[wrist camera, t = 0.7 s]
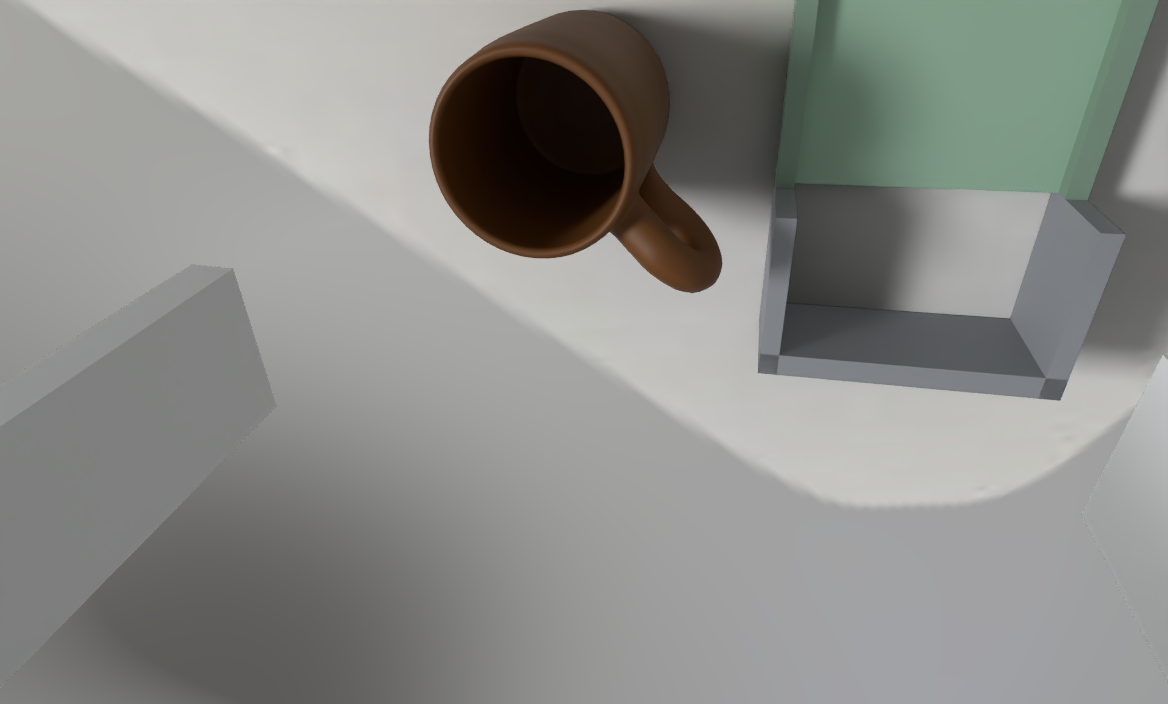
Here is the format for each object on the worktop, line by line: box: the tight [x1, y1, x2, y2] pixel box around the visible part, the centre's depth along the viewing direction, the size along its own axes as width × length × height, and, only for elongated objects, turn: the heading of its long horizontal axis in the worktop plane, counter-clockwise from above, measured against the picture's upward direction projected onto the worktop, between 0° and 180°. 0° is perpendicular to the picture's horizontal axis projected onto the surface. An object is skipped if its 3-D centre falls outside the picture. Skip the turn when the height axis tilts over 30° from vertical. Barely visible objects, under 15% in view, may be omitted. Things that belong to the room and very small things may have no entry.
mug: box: [429, 10, 722, 293], centre depth 28 cm, size 12×8×9 cm, turn 53°
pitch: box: [758, 0, 1159, 400], centre depth 24 cm, size 28×12×5 cm, turn 2°
